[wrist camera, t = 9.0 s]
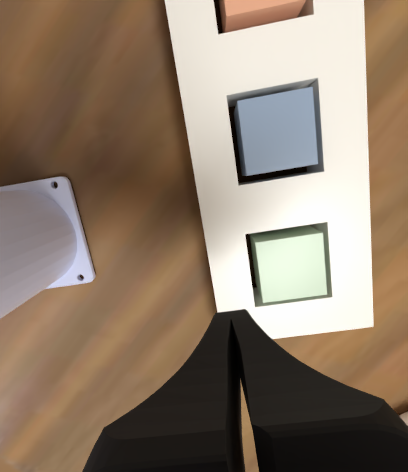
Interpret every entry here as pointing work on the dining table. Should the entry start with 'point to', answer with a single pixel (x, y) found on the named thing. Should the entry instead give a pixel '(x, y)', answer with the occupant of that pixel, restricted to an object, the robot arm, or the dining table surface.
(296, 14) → the terracotta button
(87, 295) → the dining table surface
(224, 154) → the button panel
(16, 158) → the dining table surface
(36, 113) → the dining table surface
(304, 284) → the sage-green button
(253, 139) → the slate-blue button
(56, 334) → the dining table surface
